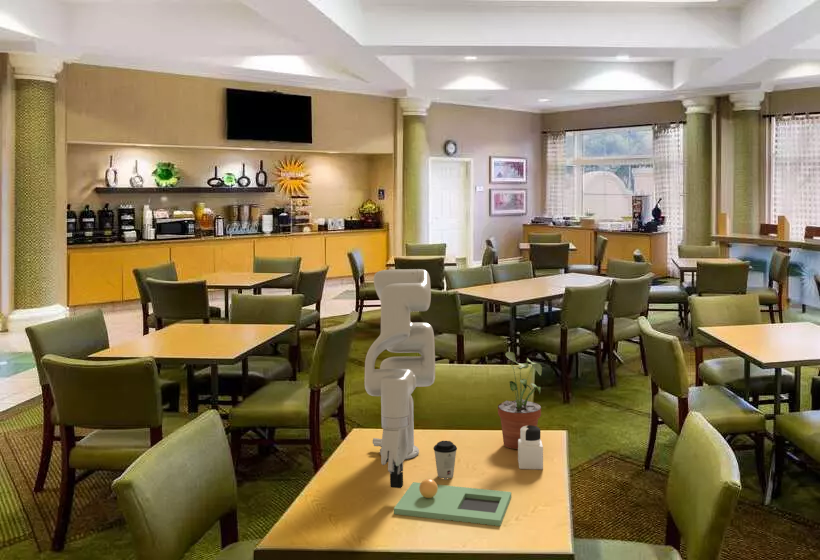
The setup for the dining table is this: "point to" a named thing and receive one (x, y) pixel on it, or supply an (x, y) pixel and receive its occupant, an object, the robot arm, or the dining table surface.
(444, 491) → the mat
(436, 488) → the orange ball
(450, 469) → the coffee cup
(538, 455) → the medicine bottle
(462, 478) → the dining table surface
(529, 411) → the potted plant
